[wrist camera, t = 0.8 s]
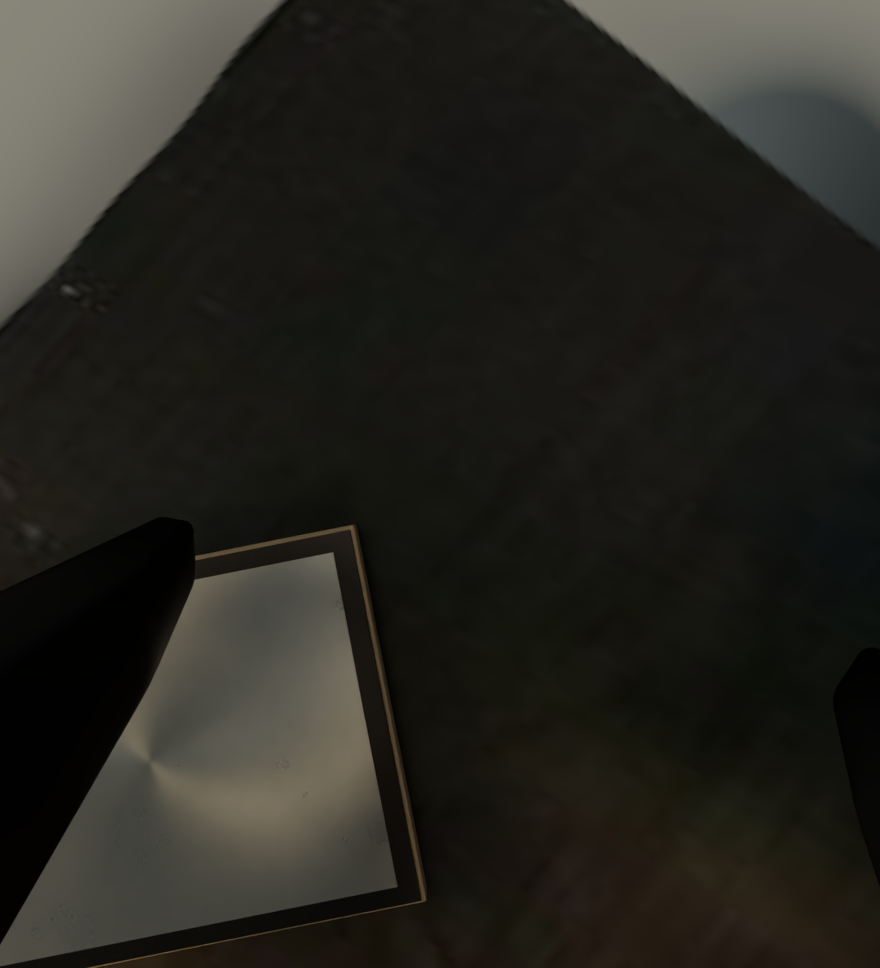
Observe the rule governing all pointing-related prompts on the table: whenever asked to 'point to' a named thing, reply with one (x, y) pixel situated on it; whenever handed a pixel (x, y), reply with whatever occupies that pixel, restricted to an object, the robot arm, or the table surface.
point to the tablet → (240, 775)
